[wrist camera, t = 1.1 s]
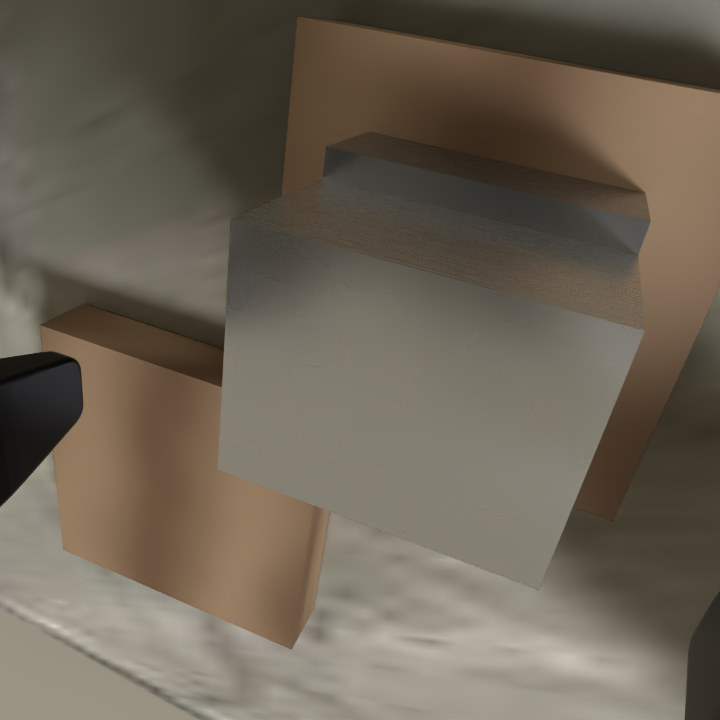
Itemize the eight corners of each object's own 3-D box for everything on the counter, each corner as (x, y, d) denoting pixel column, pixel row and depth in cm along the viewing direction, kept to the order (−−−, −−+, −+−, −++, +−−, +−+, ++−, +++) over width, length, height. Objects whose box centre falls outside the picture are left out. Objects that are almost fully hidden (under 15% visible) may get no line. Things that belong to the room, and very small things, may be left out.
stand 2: (778, 100, 13) (801, 108, 12) (613, 476, 18) (612, 521, 16) (332, 19, 16) (297, 16, 14) (292, 371, 20) (262, 401, 19)
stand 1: (350, 390, 20) (325, 422, 18) (313, 608, 25) (291, 649, 23) (83, 304, 22) (39, 325, 21) (98, 518, 27) (63, 549, 25)
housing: (646, 192, 13) (662, 287, 8) (557, 432, 16) (528, 614, 11) (369, 131, 14) (233, 178, 9) (334, 362, 17) (216, 494, 12)
